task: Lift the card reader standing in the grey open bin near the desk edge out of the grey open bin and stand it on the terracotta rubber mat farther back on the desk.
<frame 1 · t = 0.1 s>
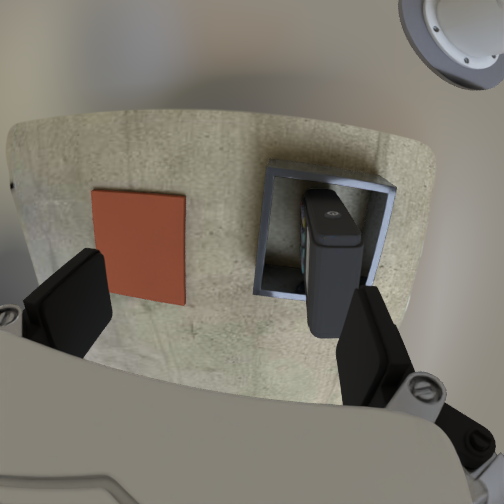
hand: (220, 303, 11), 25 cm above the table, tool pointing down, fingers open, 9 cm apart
card reader: (317, 223, 36), resting in grey open bin
mat: (138, 247, 39), on the table
grey open bin: (317, 223, 36), on the table
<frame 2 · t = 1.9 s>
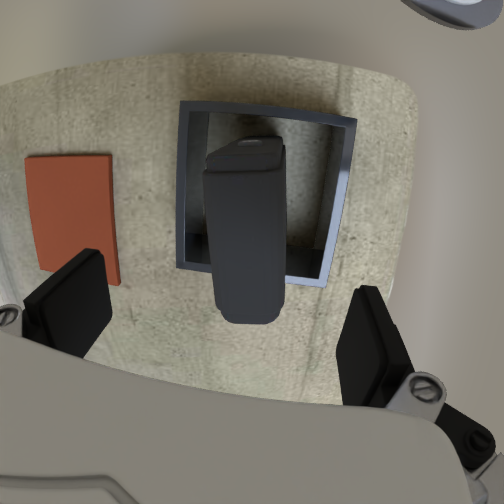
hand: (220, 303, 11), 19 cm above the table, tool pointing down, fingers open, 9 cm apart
card reader: (264, 180, 28), resting in grey open bin
mat: (70, 218, 32), on the table
grey open bin: (264, 180, 28), on the table
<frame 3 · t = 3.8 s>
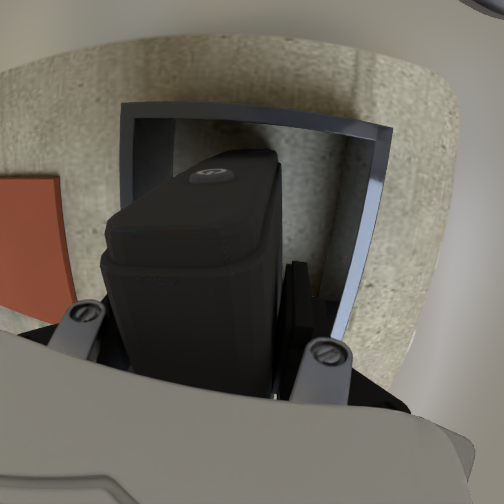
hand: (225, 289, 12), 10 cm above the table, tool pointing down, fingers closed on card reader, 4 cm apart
card reader: (252, 211, 21), resting in grey open bin, touching gripper
mat: (22, 251, 24), on the table
grey open bin: (251, 212, 21), on the table
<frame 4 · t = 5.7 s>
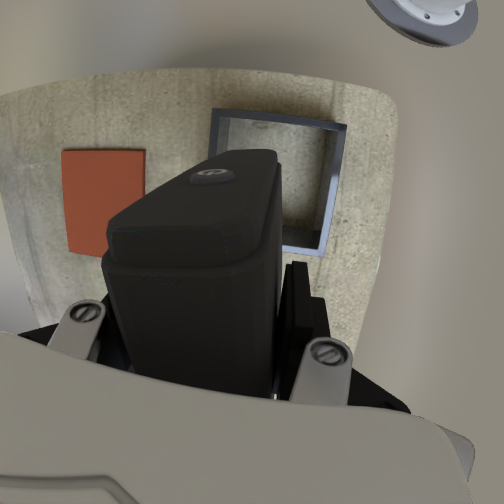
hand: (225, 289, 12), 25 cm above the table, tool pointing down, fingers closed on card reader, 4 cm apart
card reader: (251, 211, 21), point 15 cm above the table, touching gripper
mat: (102, 205, 38), on the table
grey open bin: (273, 173, 35), on the table
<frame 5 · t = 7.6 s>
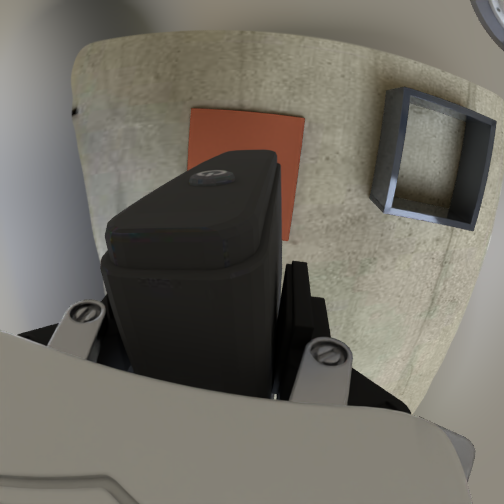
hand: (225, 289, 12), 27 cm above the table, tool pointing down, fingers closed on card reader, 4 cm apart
card reader: (251, 212, 21), point 17 cm above the table, touching gripper
mat: (241, 173, 36), on the table
grey open bin: (424, 155, 33), on the table
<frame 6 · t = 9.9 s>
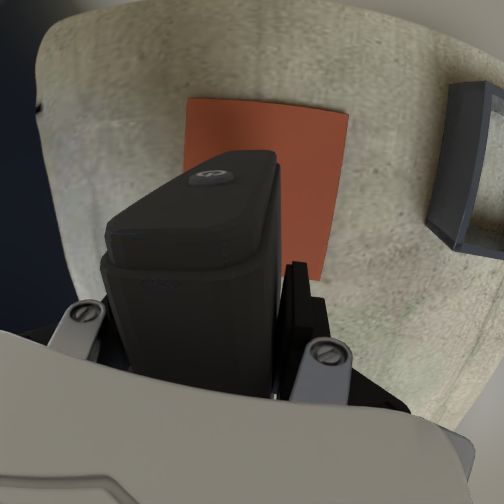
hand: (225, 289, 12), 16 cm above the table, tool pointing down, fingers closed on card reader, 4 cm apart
card reader: (251, 212, 21), point 6 cm above the table, touching gripper
mat: (259, 190, 26), on the table
grey open bin: (489, 170, 23), on the table
when the fingers open (11 cm above the table, at t = 11.6 s): card reader stays where it is, resting on mat.
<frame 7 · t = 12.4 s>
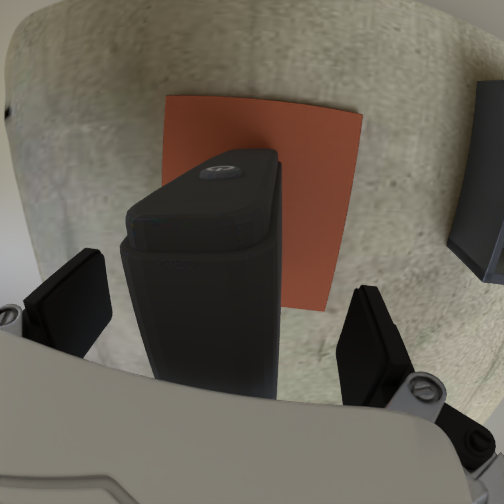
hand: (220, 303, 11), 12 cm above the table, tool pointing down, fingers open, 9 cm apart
card reader: (252, 208, 21), point 1 cm above the table, touching mat
mat: (252, 206, 22), on the table
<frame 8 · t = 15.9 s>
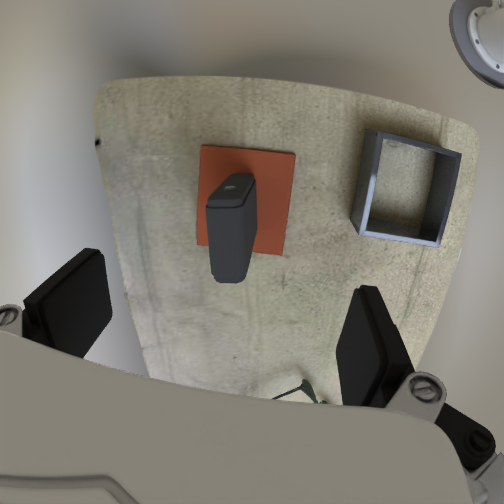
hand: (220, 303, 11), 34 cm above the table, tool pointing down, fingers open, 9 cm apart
card reader: (243, 201, 44), point 1 cm above the table, touching mat
sunglasses: (287, 403, 62), on the table
mat: (243, 200, 45), on the table
grey open bin: (398, 183, 41), on the table
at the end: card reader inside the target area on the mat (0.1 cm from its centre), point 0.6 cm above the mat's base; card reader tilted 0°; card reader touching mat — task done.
